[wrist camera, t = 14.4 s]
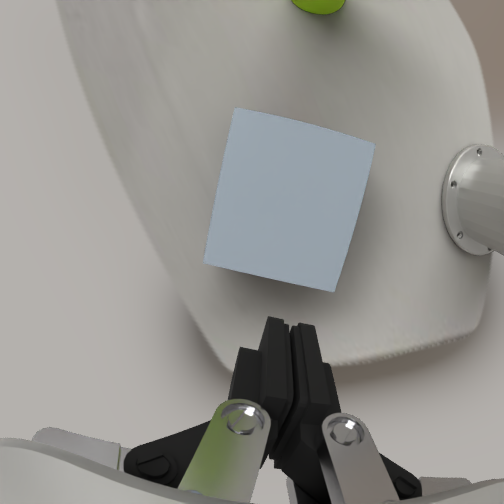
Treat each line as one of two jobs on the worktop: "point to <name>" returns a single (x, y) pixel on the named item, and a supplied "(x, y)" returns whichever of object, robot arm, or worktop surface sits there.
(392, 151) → the worktop surface
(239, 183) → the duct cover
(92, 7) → the worktop surface
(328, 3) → the soap dispenser
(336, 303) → the worktop surface
